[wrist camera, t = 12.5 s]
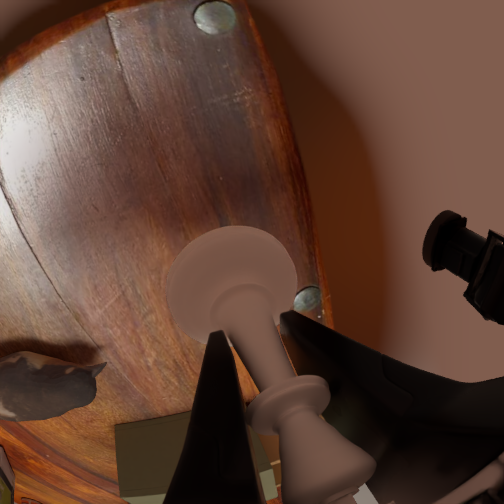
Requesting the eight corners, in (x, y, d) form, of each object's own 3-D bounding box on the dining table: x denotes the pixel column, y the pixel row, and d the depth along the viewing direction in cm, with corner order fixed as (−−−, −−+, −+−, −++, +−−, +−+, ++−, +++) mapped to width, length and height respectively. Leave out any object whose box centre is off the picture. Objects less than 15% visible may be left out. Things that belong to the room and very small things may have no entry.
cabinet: (242, 396, 28) (272, 468, 20) (254, 443, 34) (278, 496, 26) (114, 424, 25) (120, 497, 17) (155, 466, 31) (166, 521, 23)
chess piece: (295, 317, 13) (432, 513, 4) (185, 350, 12) (258, 591, 3) (287, 210, 10) (540, 437, 2) (148, 245, 9) (204, 627, 1)
